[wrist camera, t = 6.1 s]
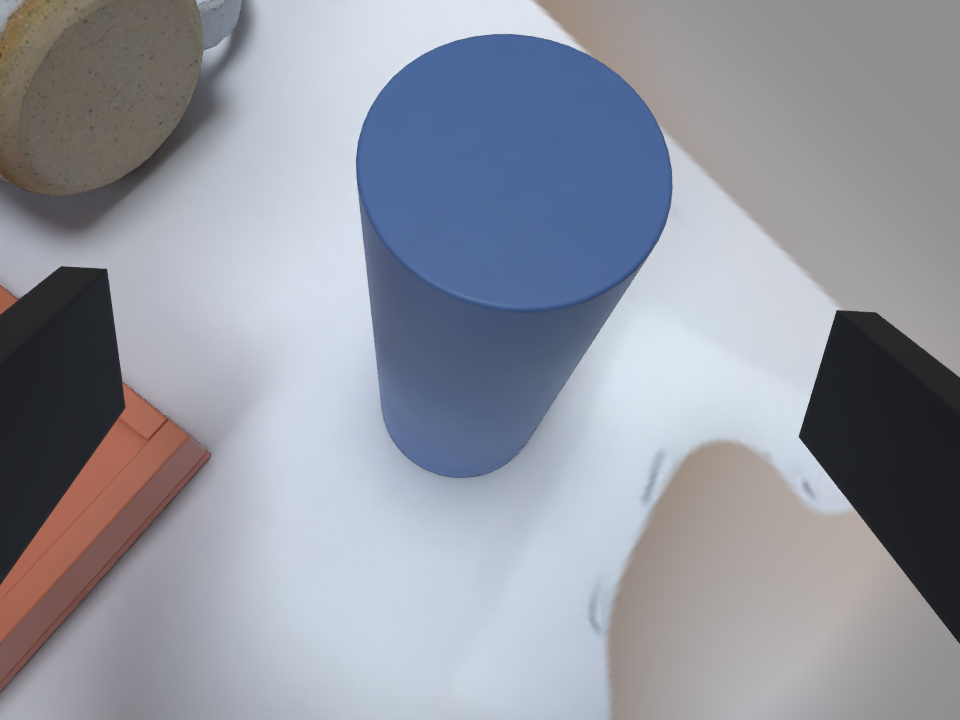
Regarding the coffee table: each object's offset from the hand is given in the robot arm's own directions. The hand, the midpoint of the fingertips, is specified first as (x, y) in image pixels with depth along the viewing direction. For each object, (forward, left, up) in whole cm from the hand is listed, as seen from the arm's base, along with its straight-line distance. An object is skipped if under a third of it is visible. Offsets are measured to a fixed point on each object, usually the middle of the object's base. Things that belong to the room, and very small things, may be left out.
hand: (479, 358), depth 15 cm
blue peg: (+1, -1, -8) cm, 8 cm away
